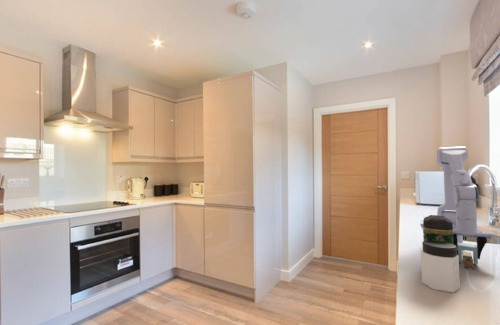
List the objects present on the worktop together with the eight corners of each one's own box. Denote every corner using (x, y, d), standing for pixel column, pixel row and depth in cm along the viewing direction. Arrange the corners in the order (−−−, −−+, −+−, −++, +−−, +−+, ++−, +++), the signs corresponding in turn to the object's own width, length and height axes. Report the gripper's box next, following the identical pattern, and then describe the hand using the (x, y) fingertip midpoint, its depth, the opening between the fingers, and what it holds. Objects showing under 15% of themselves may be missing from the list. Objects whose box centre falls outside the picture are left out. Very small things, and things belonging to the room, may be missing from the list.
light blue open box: (458, 257, 96) (457, 242, 97) (476, 260, 93) (476, 244, 93) (458, 261, 92) (458, 245, 93) (477, 264, 89) (477, 248, 89)
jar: (451, 295, 69) (449, 250, 69) (417, 284, 76) (416, 243, 76) (463, 287, 74) (462, 244, 74) (431, 277, 80) (430, 238, 81)
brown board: (462, 258, 98) (462, 250, 98) (471, 259, 96) (470, 251, 96) (464, 268, 88) (464, 259, 88) (473, 269, 87) (473, 260, 87)
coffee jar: (423, 266, 90) (422, 212, 91) (452, 271, 86) (450, 214, 86) (424, 275, 82) (423, 217, 82) (456, 281, 77) (454, 219, 78)
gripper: (441, 218, 95) (442, 255, 94) (495, 222, 86) (496, 264, 85) (441, 215, 100) (442, 250, 100) (492, 219, 91) (493, 258, 91)
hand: (467, 256), depth 93 cm, fingers closed on light blue open box, 5 cm apart
